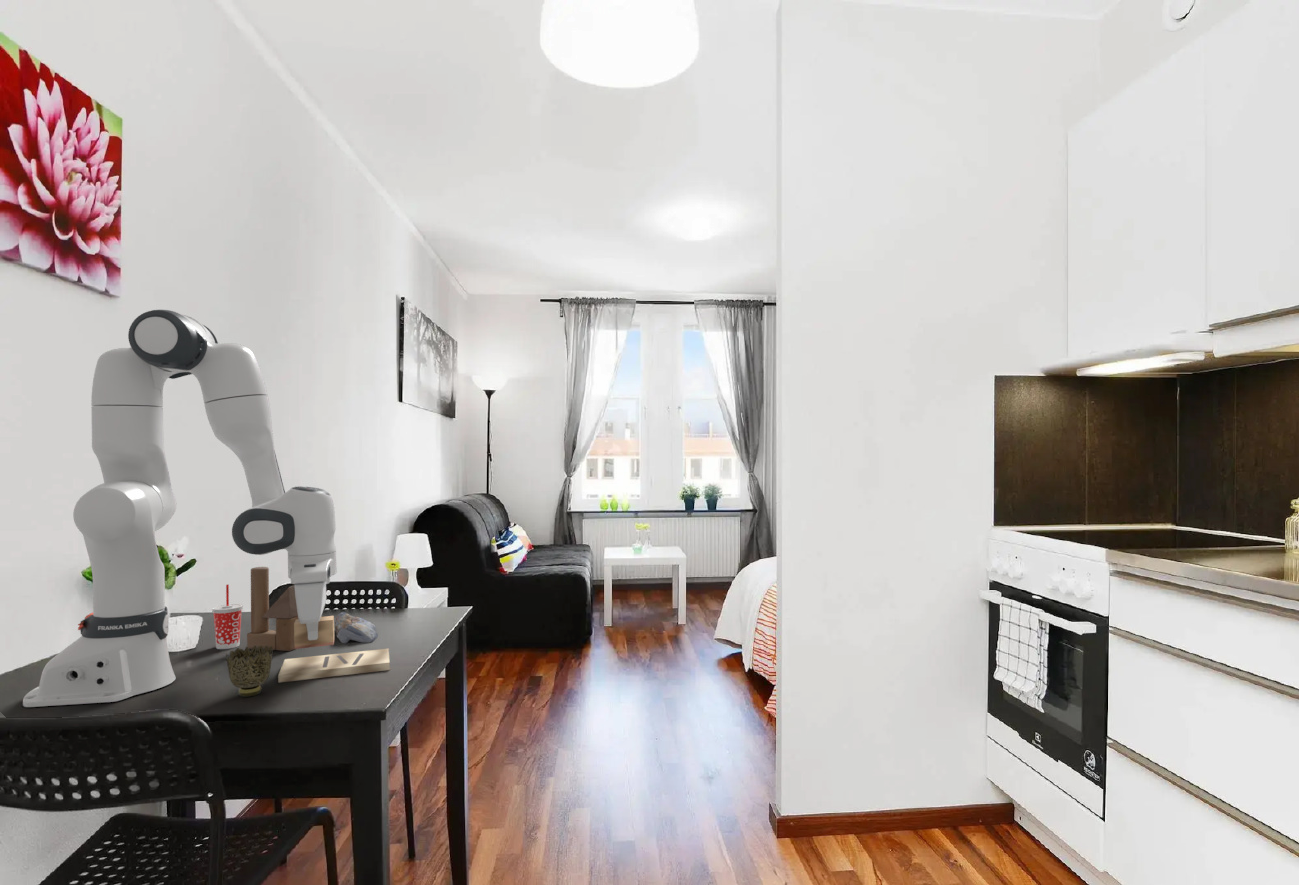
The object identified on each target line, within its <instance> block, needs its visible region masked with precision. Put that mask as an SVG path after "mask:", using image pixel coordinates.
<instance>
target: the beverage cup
mask: <svg viewBox="0 0 1299 885" xmlns="http://www.w3.org/2000/svg"><path fill="white" fill-rule="evenodd" d="M229 587H230V586H229V584H226V585H225V589H226V590H225V594H226V595H225V598H226V599H225V600H226V602H225V604H221V605H220V604H219V605H216V606H213V607H212V608H211V613H213V624H214V627H213V628H214V636H215V637H214V638H215V648H216V649H217V650H227V649H228V650H229V649H234V648H238V647H239V646H240V644H241V643H240V641H241V628H242V625H241V624H242V610H243V609H244V608H243V607H244V605H243V603H242V604H240V603H230V602H229V600H230V599H229V598H230V597H229V594H230V591H229V590H230V588H229Z"/></svg>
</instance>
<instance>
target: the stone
mask: <svg viewBox="0 0 1299 885" xmlns="http://www.w3.org/2000/svg"><path fill="white" fill-rule="evenodd" d="M334 632H335V633H336V638H337V639H338V640H339V642H340V643H342V644H348V642H349V641H352V642H354V641H355V642H359V643H362V644H363V643H373V642H375V640H377V638H378V632H377V627H376V625H375V624H373V623H372V622H371V621H368V620H366V619H364V618H362V617H359V616H353V615H351V614H349V613H347V612H345V611H342V612H340V613H339V614H337V616H336V618H335V621H334Z"/></svg>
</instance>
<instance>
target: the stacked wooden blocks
mask: <svg viewBox="0 0 1299 885" xmlns="http://www.w3.org/2000/svg"><path fill="white" fill-rule="evenodd" d="M269 575H270V568H269V567H268V566H256V567H251V568H250V631H249V632H247V634H246V635H247V636H246V647H248V648H249V650H252V649H253V647H254V646H256V647H257V648H258V647H259V646H262V647H263V649H264V648H265V646H268V649H269V648H270V647H271V646H272V648H273V651H279V652H280V651H282V652H283V651H285V652H291V651H293V650H296V649H295V644H294V623H295V621H296V619H299V618H298V613H297V605H296V597H295V585H291V586H289V587H287V589H286V590H284V592H283V593H282V594H281V595H280V596H279V597H278V598H277V600H276V601H275V602H274V603H273V604H272V605H271V606H270V586H269V584H270V582H269V581H270V579H269V577H270V576H269ZM270 619H275V630H274V629H270Z"/></svg>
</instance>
